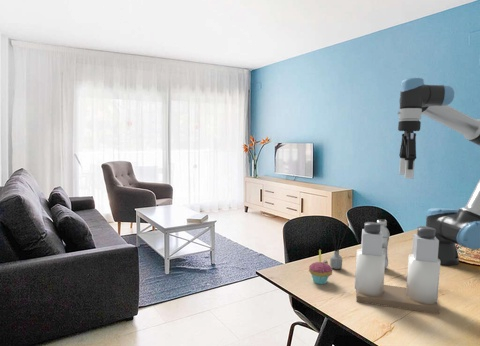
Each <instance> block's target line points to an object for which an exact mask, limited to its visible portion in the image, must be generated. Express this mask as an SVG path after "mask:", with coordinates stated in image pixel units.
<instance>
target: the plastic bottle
mask: <svg viewBox="0 0 480 346" xmlns="http://www.w3.org/2000/svg"><path fill="white" fill-rule="evenodd" d="M376 223H379V224H381V230H380V231H381V232H382V234H383V242H382V252H384V253H385V254H386V256H385V270H386V269H387V268H388V267H389V257H388V246H389V240H390V231H389V229H388V228H387V226H388V225H387V223H388V221H387V220H386V219H377V220H376Z"/></svg>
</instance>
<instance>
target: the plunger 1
mask: <svg viewBox="0 0 480 346" xmlns="http://www.w3.org/2000/svg"><path fill="white" fill-rule="evenodd" d="M363 229H364V231H366V232H370V233H380V230H381V224H379V223H377V222H375V221H365V222H364V228H363Z"/></svg>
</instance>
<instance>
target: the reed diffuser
mask: <svg viewBox="0 0 480 346" xmlns="http://www.w3.org/2000/svg"><path fill="white" fill-rule="evenodd" d="M342 223H343V222H342V220H341V221H340V228H339V233H338V235H339V236H338V240H337V242H336V240H335V239H336V233H335V231H333V233H332V227H331V223H330V220H329V219H328V226H329V229H330V233H331V238H332V242H333V246H334V249H333V251H334V252H333V255H331V256H330V261H329V262H328V260H327V259H325V260H324V261H322V262H323V263H326V264H328V265H330V267H331V268H332V269H336V270H337V269H342V268H343V257H342V256H341V255H340V249H341V246H342V243H343V241H344V238H345V237H346V233H347V231H348V227H349V225H350V223H348V224H347V227H346V230H345V232H344V235H343V238H342V239H341V242H340V237H341V229H342ZM332 226H333V230H335V224H332ZM333 235H334V237H333ZM336 243H337V244H336ZM339 243H340V246H339ZM329 263H330V264H329Z"/></svg>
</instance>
